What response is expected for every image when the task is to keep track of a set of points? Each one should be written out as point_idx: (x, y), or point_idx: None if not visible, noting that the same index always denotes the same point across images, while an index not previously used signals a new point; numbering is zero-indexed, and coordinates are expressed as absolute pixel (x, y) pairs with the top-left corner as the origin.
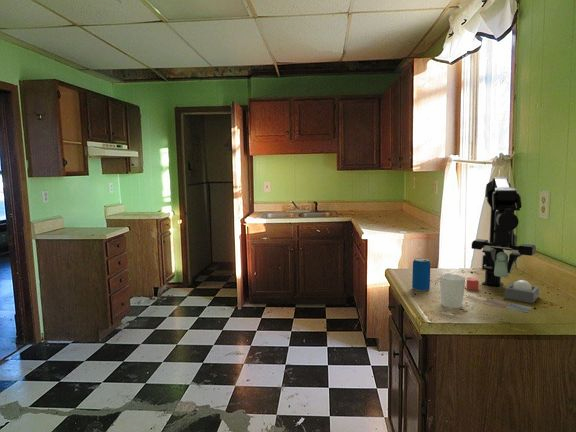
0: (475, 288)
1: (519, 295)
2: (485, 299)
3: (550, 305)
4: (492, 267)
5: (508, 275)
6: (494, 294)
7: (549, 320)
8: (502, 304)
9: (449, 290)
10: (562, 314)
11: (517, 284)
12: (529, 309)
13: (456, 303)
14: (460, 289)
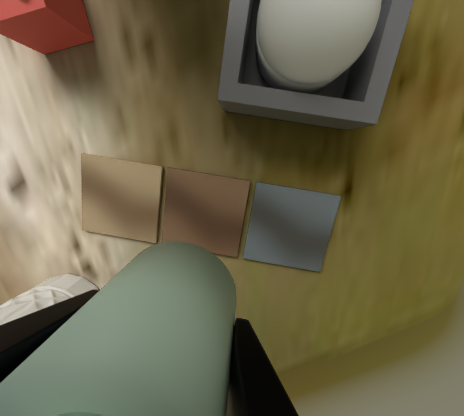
0: (70, 37)
1: (294, 117)
2: (155, 182)
3: (425, 106)
4: None
5: (235, 297)
6: (173, 53)
7: (385, 308)
8: (226, 218)
9: None
10: (449, 219)
11: (290, 52)
12: (327, 233)
13: None
14: None
